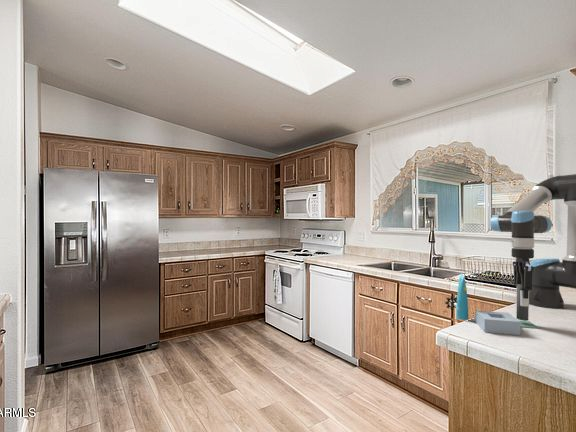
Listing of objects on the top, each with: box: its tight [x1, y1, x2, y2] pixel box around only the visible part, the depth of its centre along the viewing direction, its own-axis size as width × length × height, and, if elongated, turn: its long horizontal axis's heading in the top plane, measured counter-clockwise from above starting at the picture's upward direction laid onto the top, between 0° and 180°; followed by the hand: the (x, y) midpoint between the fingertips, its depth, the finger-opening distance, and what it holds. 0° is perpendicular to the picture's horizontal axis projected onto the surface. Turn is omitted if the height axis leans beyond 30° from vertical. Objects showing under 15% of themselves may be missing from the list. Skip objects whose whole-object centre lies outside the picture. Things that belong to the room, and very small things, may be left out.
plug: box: [515, 284, 529, 321], centre depth 134 cm, size 4×4×14 cm
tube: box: [455, 273, 470, 321], centre depth 141 cm, size 7×5×19 cm, turn 168°
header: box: [474, 309, 521, 336], centre depth 129 cm, size 12×12×5 cm
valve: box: [444, 295, 470, 312], centre depth 149 cm, size 7×7×12 cm
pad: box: [519, 320, 539, 329], centre depth 134 cm, size 8×8×1 cm
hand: (522, 304), depth 134 cm, fingers closed on plug, 3 cm apart
